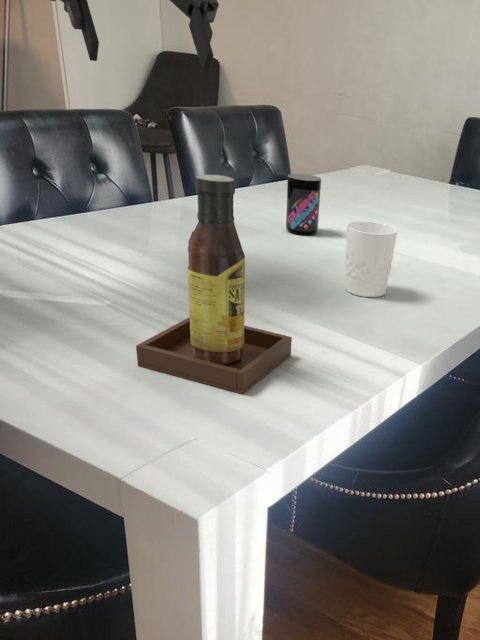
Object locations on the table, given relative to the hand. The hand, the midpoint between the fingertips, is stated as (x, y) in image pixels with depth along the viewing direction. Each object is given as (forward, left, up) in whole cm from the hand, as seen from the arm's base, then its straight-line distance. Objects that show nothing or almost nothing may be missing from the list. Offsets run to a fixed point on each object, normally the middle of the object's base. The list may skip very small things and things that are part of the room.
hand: (153, 58), depth 78 cm
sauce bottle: (+17, -15, -29) cm, 37 cm away
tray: (+17, -15, -29) cm, 37 cm away
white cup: (+23, +22, -30) cm, 43 cm away
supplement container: (-1, +50, -30) cm, 58 cm away
